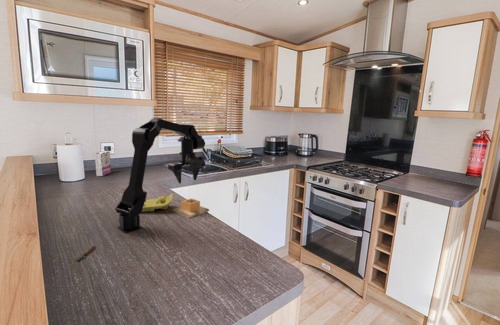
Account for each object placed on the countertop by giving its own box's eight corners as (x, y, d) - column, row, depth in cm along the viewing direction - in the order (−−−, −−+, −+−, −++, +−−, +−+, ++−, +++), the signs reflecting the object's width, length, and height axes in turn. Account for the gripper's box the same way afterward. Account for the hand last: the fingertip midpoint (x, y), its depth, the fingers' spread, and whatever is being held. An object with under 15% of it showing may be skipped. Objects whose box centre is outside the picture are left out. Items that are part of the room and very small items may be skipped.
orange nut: (189, 212, 122) (190, 204, 121) (181, 209, 125) (181, 201, 125) (199, 209, 127) (199, 201, 126) (191, 206, 130) (191, 198, 130)
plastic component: (126, 208, 120) (131, 193, 128) (130, 219, 125) (135, 204, 133) (170, 205, 122) (173, 190, 130) (173, 216, 126) (175, 201, 134)
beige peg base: (189, 217, 118) (189, 207, 117) (172, 211, 125) (172, 201, 124) (208, 211, 127) (209, 201, 127) (192, 205, 135) (192, 195, 134)
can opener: (93, 248, 89) (92, 245, 89) (99, 249, 89) (99, 246, 89) (71, 263, 80) (71, 259, 80) (78, 264, 80) (78, 260, 80)
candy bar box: (104, 173, 195) (103, 150, 192) (111, 173, 195) (110, 151, 192) (95, 176, 184) (94, 153, 181) (102, 176, 184) (101, 153, 181)
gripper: (181, 154, 117) (182, 188, 120) (213, 150, 131) (212, 181, 134) (166, 151, 124) (167, 184, 127) (198, 148, 138) (198, 177, 141)
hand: (187, 181), depth 132 cm, fingers open, 9 cm apart
